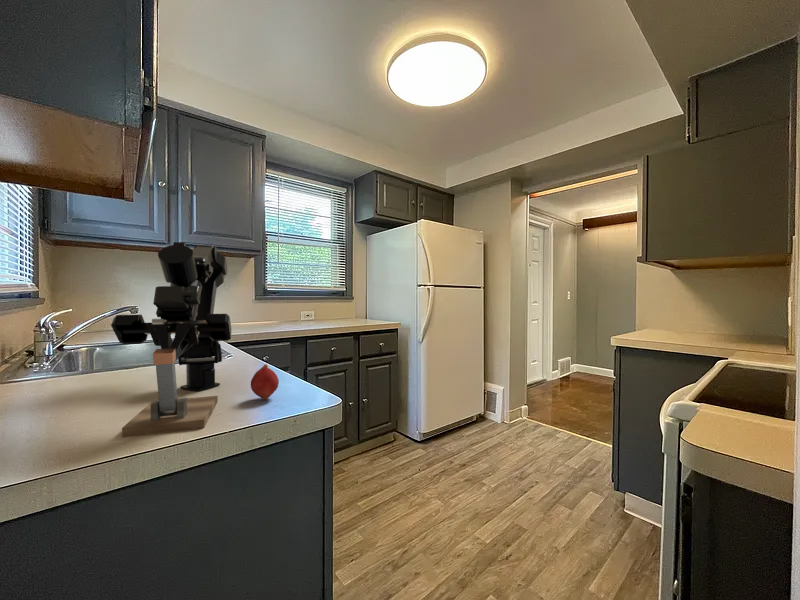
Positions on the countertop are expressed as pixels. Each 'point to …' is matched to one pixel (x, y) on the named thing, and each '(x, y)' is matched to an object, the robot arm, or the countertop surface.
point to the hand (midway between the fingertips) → (167, 365)
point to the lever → (166, 380)
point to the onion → (264, 382)
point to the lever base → (172, 417)
